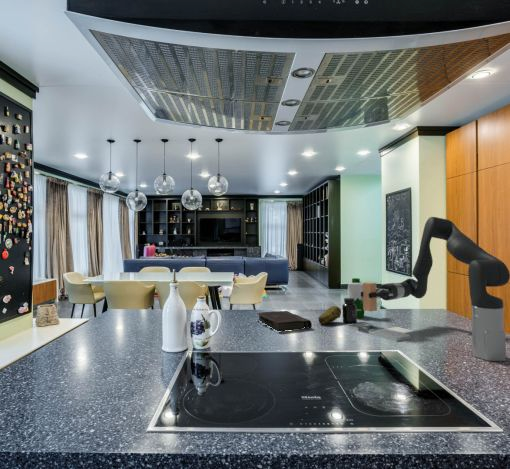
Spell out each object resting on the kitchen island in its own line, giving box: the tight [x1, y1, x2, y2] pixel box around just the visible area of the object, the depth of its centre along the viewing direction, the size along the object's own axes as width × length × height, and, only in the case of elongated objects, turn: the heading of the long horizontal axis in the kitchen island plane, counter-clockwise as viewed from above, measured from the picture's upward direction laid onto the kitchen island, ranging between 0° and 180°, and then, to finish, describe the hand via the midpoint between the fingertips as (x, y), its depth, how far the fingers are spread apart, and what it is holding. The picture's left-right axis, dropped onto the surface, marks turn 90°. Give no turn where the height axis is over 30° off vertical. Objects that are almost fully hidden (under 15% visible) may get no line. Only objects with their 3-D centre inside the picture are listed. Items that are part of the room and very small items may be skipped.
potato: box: [318, 305, 342, 325], centre depth 174 cm, size 8×13×8 cm, turn 105°
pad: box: [387, 326, 414, 334], centre depth 156 cm, size 9×9×1 cm
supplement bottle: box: [341, 297, 358, 325], centre depth 175 cm, size 7×7×12 cm
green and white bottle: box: [347, 277, 366, 319], centre depth 188 cm, size 9×9×20 cm
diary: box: [256, 310, 313, 331], centre depth 173 cm, size 19×25×5 cm
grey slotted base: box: [347, 322, 412, 342], centre depth 152 cm, size 26×9×2 cm, turn 30°
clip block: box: [363, 281, 378, 312], centre depth 156 cm, size 4×4×12 cm
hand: (365, 294), depth 155 cm, fingers closed on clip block, 4 cm apart
